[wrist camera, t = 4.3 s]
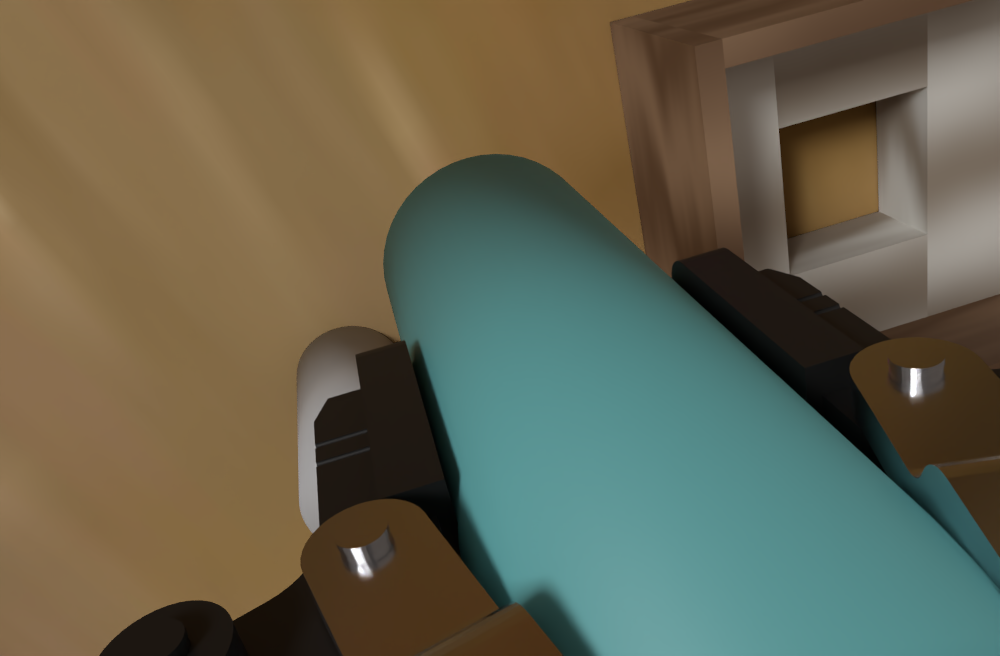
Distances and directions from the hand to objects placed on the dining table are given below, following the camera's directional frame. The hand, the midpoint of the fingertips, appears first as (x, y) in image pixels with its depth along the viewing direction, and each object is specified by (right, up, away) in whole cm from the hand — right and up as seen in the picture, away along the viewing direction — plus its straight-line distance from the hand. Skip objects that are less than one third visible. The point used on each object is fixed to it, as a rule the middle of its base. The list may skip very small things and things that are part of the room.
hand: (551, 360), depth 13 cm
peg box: (+14, +8, +21) cm, 27 cm away
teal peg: (-1, +2, +4) cm, 4 cm away
